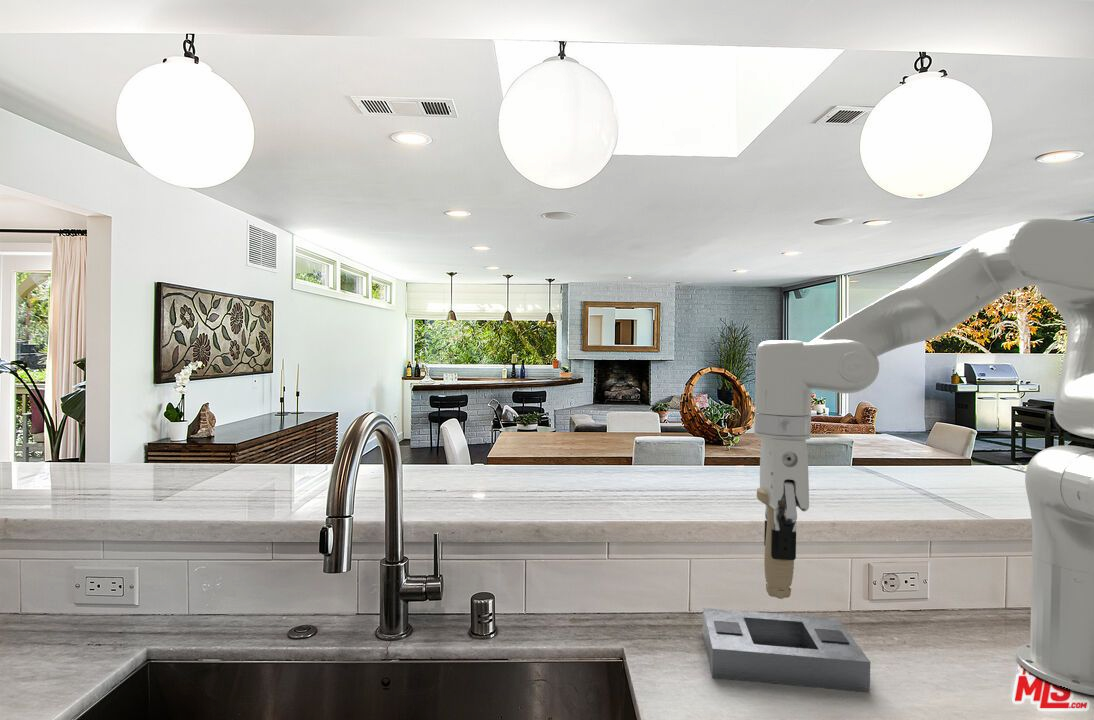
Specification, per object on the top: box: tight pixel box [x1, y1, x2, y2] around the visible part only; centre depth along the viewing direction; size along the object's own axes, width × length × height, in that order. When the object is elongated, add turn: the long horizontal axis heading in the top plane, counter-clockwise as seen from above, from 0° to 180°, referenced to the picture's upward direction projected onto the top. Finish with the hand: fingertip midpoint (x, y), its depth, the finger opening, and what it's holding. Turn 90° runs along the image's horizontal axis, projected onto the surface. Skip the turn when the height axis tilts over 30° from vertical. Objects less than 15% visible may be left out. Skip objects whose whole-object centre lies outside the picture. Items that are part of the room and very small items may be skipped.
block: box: [702, 607, 871, 693], centre depth 86 cm, size 20×13×4 cm, turn 81°
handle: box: [756, 487, 799, 600], centre depth 86 cm, size 5×6×15 cm
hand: (779, 552), depth 86 cm, fingers closed on handle, 3 cm apart
